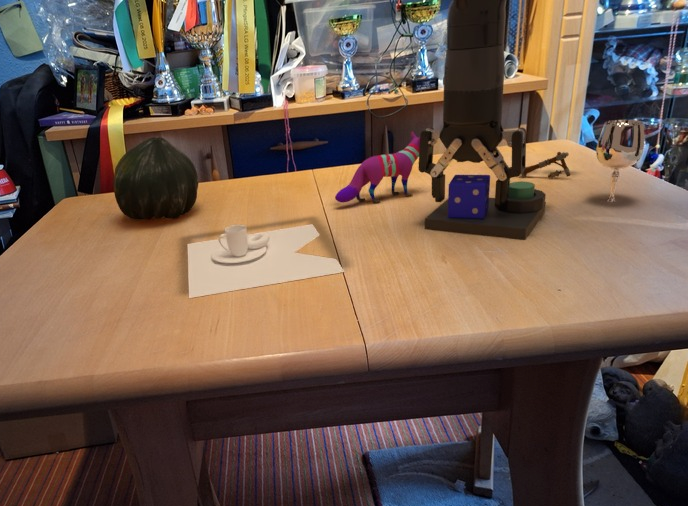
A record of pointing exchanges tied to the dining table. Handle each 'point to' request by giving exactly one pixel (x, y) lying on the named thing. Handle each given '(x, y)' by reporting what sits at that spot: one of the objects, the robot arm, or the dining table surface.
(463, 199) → the die
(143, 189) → the squash
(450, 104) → the robot arm
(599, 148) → the wineglass
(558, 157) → the wooden post with brackets
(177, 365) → the dining table surface
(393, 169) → the striped fox figurine
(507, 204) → the scale
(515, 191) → the tare button
